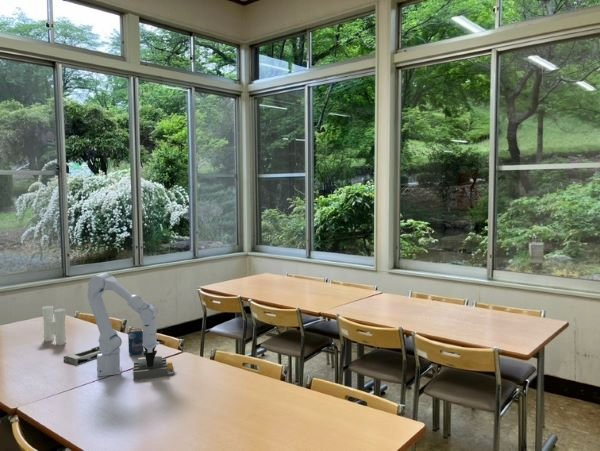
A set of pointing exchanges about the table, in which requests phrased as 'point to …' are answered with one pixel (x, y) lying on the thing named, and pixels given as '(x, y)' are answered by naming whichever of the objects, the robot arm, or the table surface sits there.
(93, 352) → the graphics card
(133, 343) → the soda can
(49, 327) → the binoculars
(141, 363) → the panel
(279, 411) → the table surface
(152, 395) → the table surface
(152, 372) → the rack
